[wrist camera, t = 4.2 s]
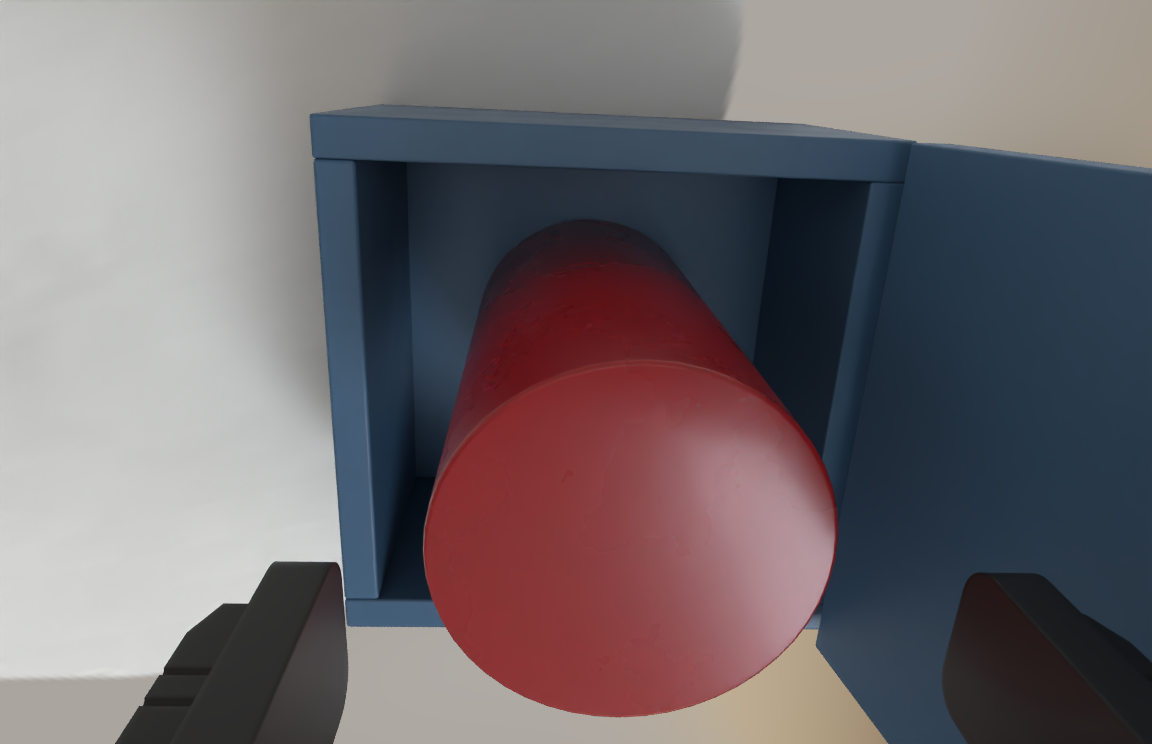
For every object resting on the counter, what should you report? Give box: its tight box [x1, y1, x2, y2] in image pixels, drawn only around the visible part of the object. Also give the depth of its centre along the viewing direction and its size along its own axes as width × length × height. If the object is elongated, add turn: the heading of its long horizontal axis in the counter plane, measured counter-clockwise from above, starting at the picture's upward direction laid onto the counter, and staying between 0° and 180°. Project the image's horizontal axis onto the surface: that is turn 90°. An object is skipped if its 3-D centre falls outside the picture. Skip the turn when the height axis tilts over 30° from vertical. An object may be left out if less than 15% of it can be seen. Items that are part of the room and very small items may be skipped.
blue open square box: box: [310, 104, 917, 629], centre depth 20 cm, size 12×12×7 cm
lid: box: [816, 143, 1152, 744], centre depth 11 cm, size 12×12×1 cm
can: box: [423, 219, 838, 717], centre depth 17 cm, size 6×6×12 cm
